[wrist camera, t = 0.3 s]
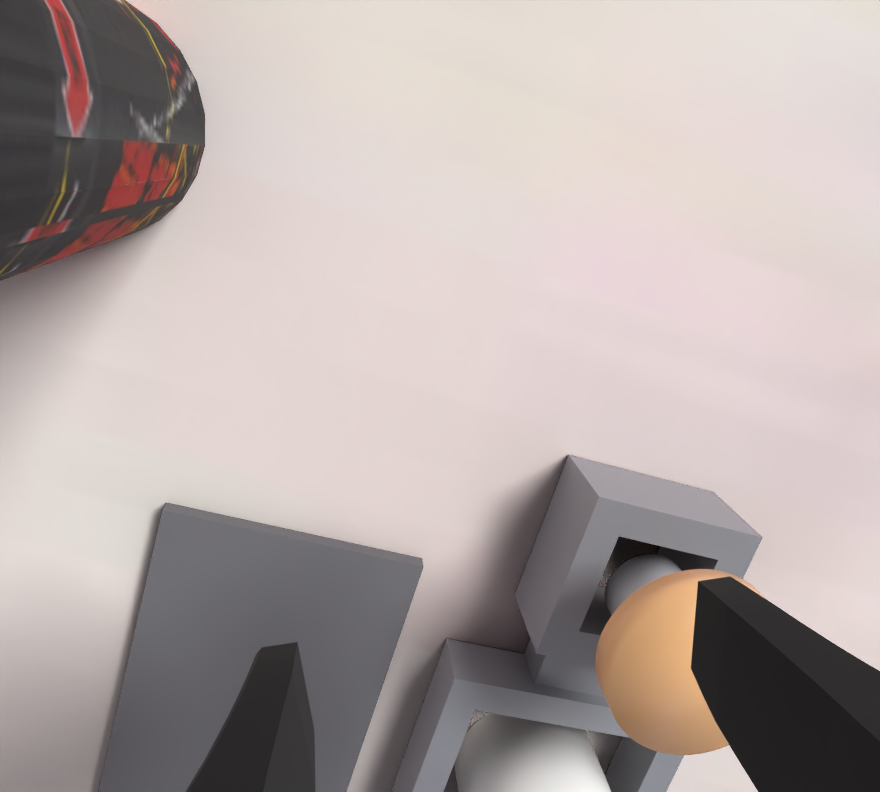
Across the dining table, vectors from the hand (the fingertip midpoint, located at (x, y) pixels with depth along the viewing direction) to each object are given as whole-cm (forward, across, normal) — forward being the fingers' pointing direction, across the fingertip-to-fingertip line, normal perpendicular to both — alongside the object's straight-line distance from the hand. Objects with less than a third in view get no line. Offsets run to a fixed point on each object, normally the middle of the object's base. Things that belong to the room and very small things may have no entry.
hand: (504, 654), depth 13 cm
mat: (+9, +7, +9) cm, 14 cm away
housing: (+9, -4, +9) cm, 13 cm away
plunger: (+7, -5, +5) cm, 10 cm away
